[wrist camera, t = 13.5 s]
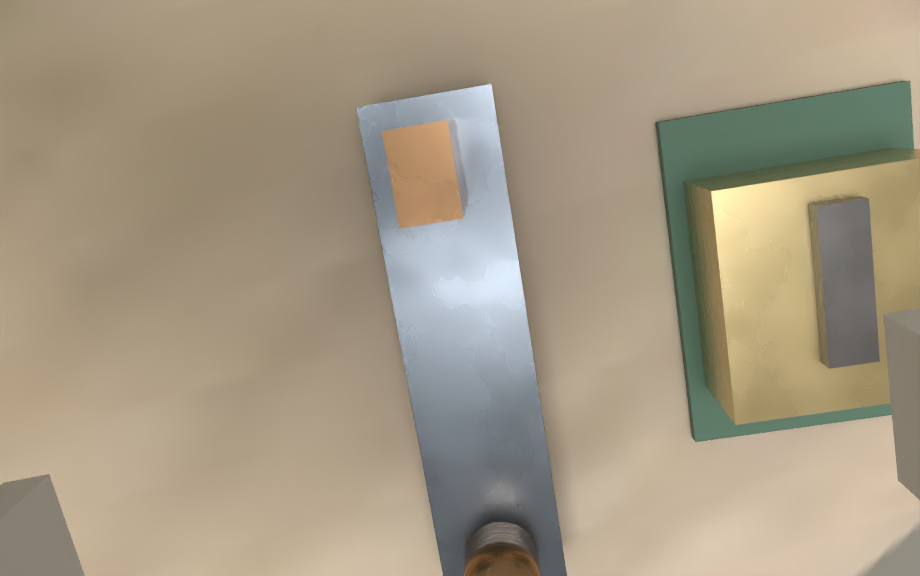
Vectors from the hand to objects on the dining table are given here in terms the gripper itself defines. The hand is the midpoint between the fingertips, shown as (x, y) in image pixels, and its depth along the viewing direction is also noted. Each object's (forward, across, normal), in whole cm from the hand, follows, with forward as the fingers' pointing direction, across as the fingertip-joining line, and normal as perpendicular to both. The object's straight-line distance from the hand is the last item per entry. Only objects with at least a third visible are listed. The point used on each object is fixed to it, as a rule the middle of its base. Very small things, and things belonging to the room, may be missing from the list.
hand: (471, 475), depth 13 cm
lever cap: (+22, +13, -4) cm, 26 cm away
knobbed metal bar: (+23, -1, -5) cm, 24 cm away
